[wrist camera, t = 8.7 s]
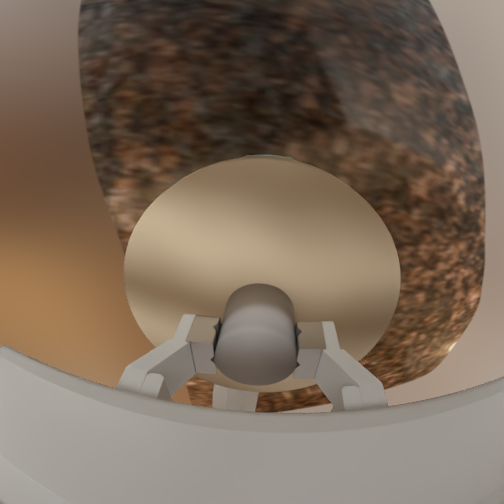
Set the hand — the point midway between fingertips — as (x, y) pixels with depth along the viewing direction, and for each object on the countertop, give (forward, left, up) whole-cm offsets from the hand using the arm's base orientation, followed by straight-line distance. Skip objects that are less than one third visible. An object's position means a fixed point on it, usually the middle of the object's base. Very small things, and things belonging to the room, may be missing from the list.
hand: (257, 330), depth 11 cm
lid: (0, 0, -2) cm, 2 cm away
